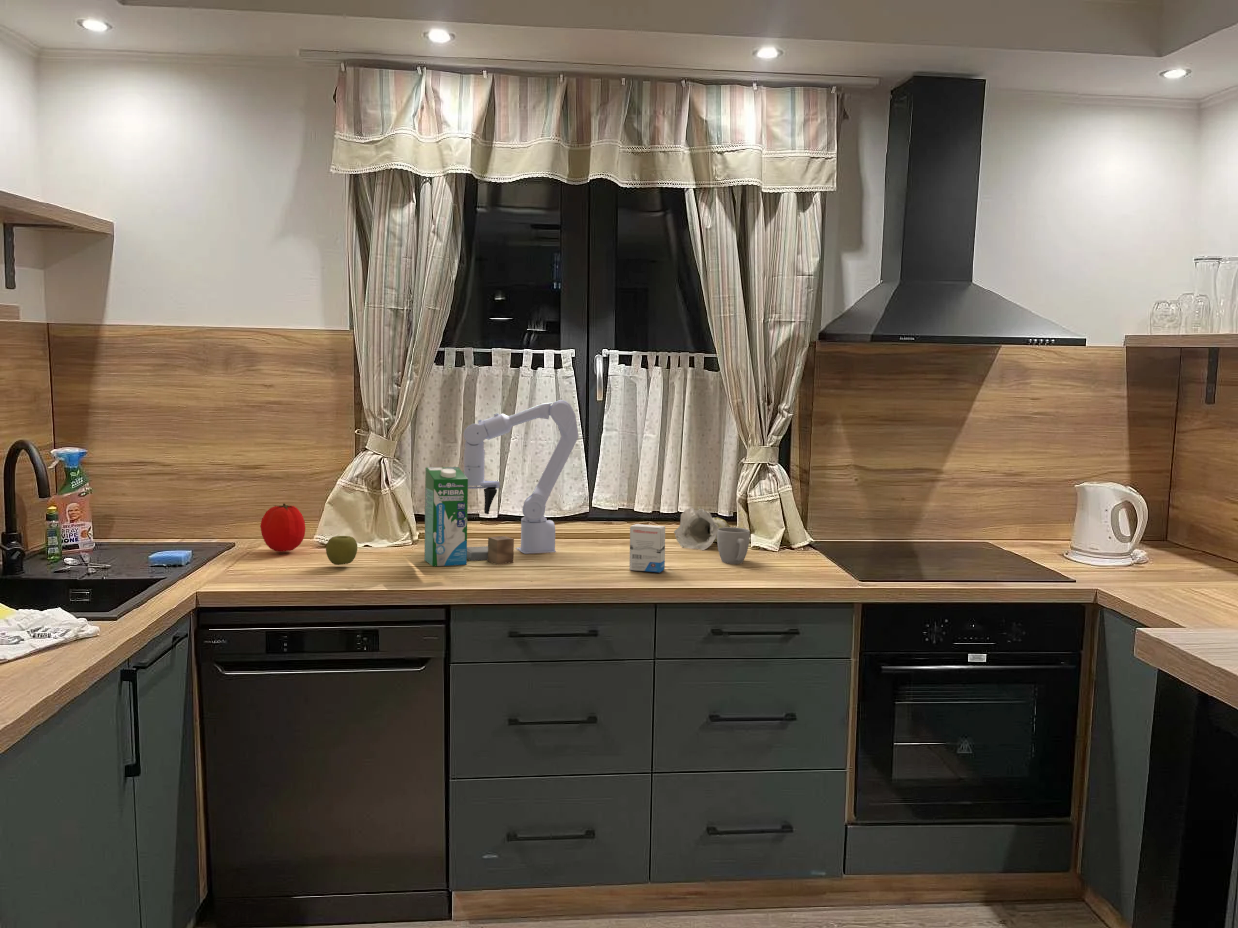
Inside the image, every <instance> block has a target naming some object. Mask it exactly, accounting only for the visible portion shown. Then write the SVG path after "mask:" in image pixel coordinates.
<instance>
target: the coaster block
mask: <svg viewBox="0 0 1238 928" xmlns="http://www.w3.org/2000/svg"><path fill="white" fill-rule="evenodd" d="M467 559H468V560H469V561H470V562H471V561H473V562H474V561H488V545H486V546H484V545H483V546H467Z"/></svg>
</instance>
